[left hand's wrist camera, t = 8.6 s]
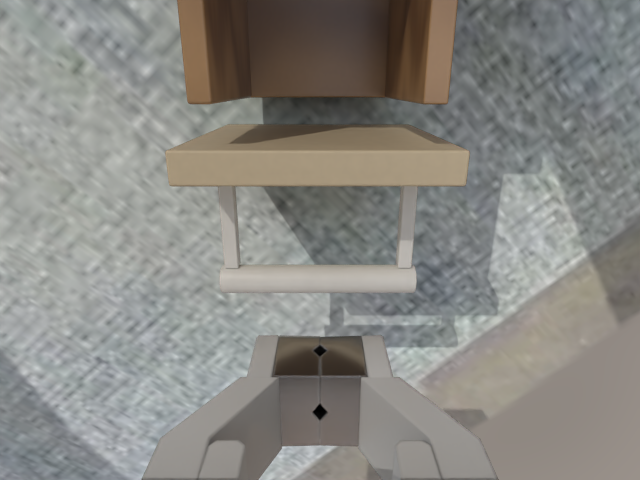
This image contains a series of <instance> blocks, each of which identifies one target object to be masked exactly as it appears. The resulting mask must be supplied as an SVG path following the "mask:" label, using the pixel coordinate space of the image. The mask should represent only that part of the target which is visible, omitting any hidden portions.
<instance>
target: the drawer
mask: <svg viewBox="0 0 640 480" xmlns="http://www.w3.org/2000/svg"><path fill="white" fill-rule="evenodd" d="M177 3H178V13H179V23H180V33H181V43H182V53H183V63H184V73H185V83H186V93H187V101H188V103H189V104H214V103H220V102H226V101H232V100H238V99H244V98H250V97H386V98H392V99H397V100H403V101H409V102H414V103H420V104H447V103H448V98H449V87H450V77H451V67H452V57H453V46H454V36H455V26H456V16H457V5H458V0H177ZM165 154H166V162H167V171H168V179H169V185H170V186H218V192H219V204H220V217H221V229H222V241H223V253H224V265H222V267H221V270H220V289H221V292H222V293H414V292H415V290H416V284H417V276H416V269H415V266H414V265H412V254H413V241H414V229H415V216H416V204H417V191H418V186H465V185H466V181H467V173H468V164H469V156H470V152H469V151H468V150H466V149H464V148H461V147H459V146H457V145H454V144H452V143H450V142H448V141H445V140H443V139H441V138H438V137H436V136H434V135H431V134H429V133H427V132H425V131H422V130H420V129H418V128H415V127H413V126H411V125H311V124H228V125H226V126H223V127H221V128H219V129H216V130H214V131H212V132H209V133H207V134H205V135H202V136H200V137H197V138H195V139H193V140H190V141H188V142H186V143H183V144H181V145H179V146H176V147H174V148H171V149H169V150H167V151H166V152H165ZM235 186H401V191H400V207H399V222H398V237H397V252H396V264H397V265H240V263H241V262H240V248H239V233H238V219H237V204H236V189H235Z"/></svg>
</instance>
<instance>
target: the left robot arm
mask: <svg viewBox="0 0 640 480" xmlns="http://www.w3.org/2000/svg"><path fill="white" fill-rule="evenodd" d="M310 445H329V446H358V448H359V450H360V451H361V452H362V454H363V455H364V456H365V458H366V459H367V460H368V462H369V463H370V464H371V466H372V467H373V468H374V470H375V471H376V472H377V474H378V475H379V476H380V478H381V479H382V480H498V477H497V475H496V473H495V471H494V468H493V466H492V464H491V462H490V460H489V457H488V455H487V453H486V451H485V448H484V446H483V444H482V442H481V440H480V438H478V437H477V436H476V435H475V434H473V433H472V432H471V431H469V430H468V429H467V428H465V427H464V426H463V425H461V424H460V423H459V422H457V421H456V420H455V419H454V418H452V417H451V416H450V415H448V414H447V413H446V412H444V411H443V410H442V409H440V408H439V407H438V406H436V405H435V404H434V403H433V402H431V401H430V400H429V399H427V398H426V397H425V396H423V395H422V394H421V393H419V392H418V391H417V390H415V389H414V388H413V387H412V386H410V385H409V384H408V383H406V382H405V381H404V380H402V379H401V378H400V377H393V374H392V370H391V366H390V362H389V358H388V354H387V350H386V347H385V343H384V339H383V336H381V335H369V336H340V337H320V336H278V335H259V336H258V337H257V338H256V342H255V346H254V350H253V354H252V358H251V362H250V366H249V370H248V374H247V377H240V378H239V379H238V380H236V381H235V382H234V383H232V384H231V385H230V386H228V387H227V388H226V389H224V390H223V391H222V392H221V393H219V394H218V395H217V396H215V397H214V398H213V399H211V400H210V401H209V402H207V403H206V404H205V405H203V406H202V407H201V408H199V409H198V410H197V411H195V412H194V413H193V414H191V415H190V416H189V417H188V418H186V419H185V420H184V421H182V422H181V423H180V424H178V425H177V426H176V427H174V428H173V429H172V430H170V431H169V432H168V433H166V434H165V435H164V436H162V437H161V438H160V440H159V442H158V444H157V447H156V449H155V451H154V453H153V455H152V458H151V460H150V462H149V464H148V466H147V469H146V471H145V473H144V475H143V477H142V480H258V479H259V478H260V477H261V475H262V474H263V473H264V471H265V470H266V469H267V467H268V466H269V465H270V463H271V462H272V461H273V459H274V458H275V457H276V456H277V454H278V453H279V452H280V450H281V449H282V446H310Z"/></svg>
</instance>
